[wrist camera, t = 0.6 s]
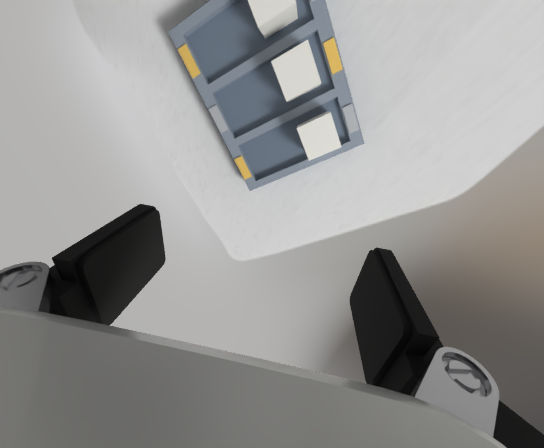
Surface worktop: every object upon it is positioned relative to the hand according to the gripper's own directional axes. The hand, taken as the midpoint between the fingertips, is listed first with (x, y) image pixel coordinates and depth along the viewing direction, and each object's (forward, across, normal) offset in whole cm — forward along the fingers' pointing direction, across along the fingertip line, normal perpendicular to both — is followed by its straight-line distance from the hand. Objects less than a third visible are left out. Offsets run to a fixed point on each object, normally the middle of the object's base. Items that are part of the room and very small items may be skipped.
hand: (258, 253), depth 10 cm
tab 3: (+24, -3, -3) cm, 25 cm away
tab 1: (+25, +5, -14) cm, 29 cm away
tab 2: (+25, +1, -8) cm, 26 cm away
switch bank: (+27, +4, -7) cm, 28 cm away
